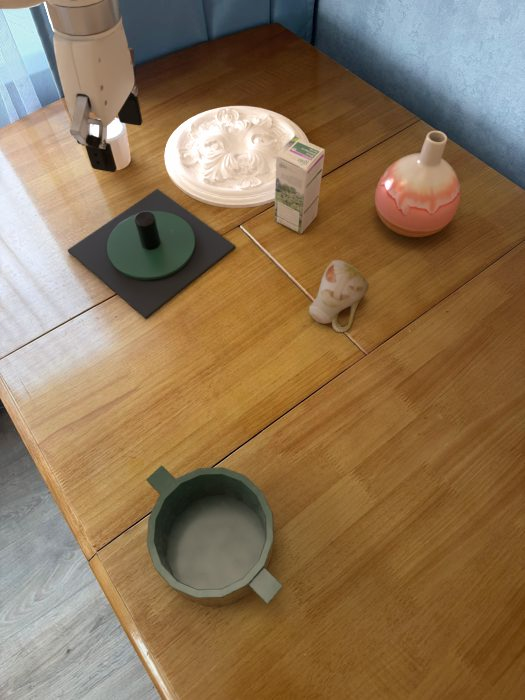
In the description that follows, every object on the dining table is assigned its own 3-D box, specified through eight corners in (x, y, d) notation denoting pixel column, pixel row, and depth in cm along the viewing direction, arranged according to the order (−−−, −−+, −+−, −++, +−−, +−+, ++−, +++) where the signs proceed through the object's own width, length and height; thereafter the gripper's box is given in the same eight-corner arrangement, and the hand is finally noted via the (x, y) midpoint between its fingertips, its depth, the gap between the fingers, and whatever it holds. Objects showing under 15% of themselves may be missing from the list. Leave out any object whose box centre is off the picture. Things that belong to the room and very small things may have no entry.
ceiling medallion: (262, 230, 92) (262, 217, 89) (135, 171, 99) (131, 157, 97) (336, 139, 104) (338, 125, 101) (218, 93, 111) (217, 79, 109)
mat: (145, 319, 82) (145, 317, 82) (68, 252, 89) (67, 249, 89) (235, 248, 90) (235, 245, 89) (157, 190, 97) (157, 188, 96)
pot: (232, 651, 60) (228, 650, 51) (124, 532, 66) (105, 514, 58) (310, 558, 65) (318, 543, 56) (203, 456, 71) (195, 429, 63)
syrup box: (318, 215, 94) (327, 147, 81) (300, 236, 91) (306, 168, 79) (290, 202, 95) (295, 133, 83) (272, 222, 93) (274, 154, 80)
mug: (294, 319, 83) (306, 259, 78) (331, 305, 89) (344, 249, 84) (331, 339, 79) (346, 278, 74) (367, 324, 85) (383, 266, 80)
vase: (380, 186, 97) (402, 99, 82) (454, 206, 95) (491, 119, 80) (360, 238, 91) (380, 154, 76) (438, 261, 88) (475, 178, 73)
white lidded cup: (90, 159, 101) (80, 127, 95) (120, 143, 103) (112, 111, 97) (110, 178, 98) (101, 146, 92) (141, 161, 101) (133, 129, 95)
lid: (147, 297, 84) (139, 269, 78) (90, 249, 89) (78, 220, 83) (213, 246, 89) (210, 216, 83) (156, 203, 94) (149, 173, 88)
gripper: (82, -34, 61) (115, 102, 75) (12, 47, 52) (65, 184, 67) (144, -26, 60) (165, 110, 75) (84, 58, 51) (121, 194, 66)
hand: (118, 145), depth 71 cm, fingers open, 9 cm apart
